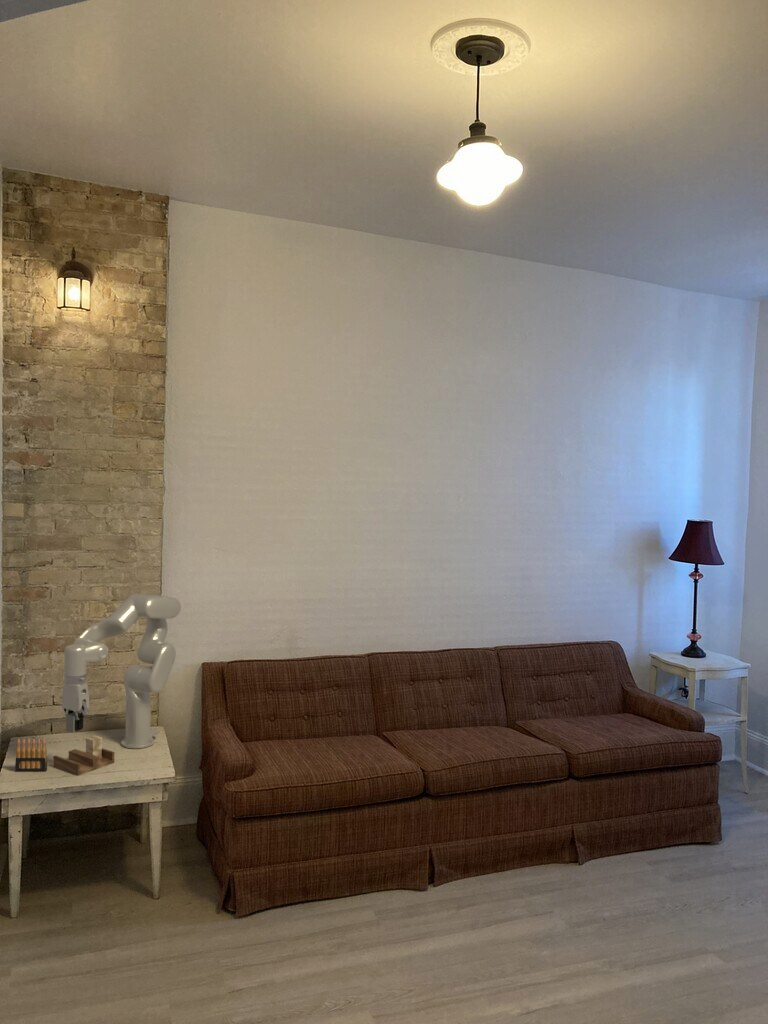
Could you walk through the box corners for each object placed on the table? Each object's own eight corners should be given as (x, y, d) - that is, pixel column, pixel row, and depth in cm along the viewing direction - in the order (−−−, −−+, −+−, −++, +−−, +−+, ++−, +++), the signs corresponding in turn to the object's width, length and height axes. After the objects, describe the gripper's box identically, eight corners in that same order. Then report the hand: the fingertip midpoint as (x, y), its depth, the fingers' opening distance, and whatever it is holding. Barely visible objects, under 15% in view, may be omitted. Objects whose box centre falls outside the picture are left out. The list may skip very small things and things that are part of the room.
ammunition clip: (14, 771, 295) (15, 739, 294) (16, 770, 296) (16, 737, 296) (45, 771, 296) (46, 739, 295) (47, 769, 298) (47, 737, 297)
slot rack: (89, 754, 314) (89, 744, 314) (114, 762, 307) (114, 752, 306) (53, 766, 300) (53, 756, 300) (78, 775, 293) (78, 764, 293)
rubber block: (75, 727, 302) (75, 711, 301) (82, 730, 300) (82, 713, 299) (66, 730, 298) (66, 714, 298) (73, 732, 296) (73, 716, 296)
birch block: (94, 756, 310) (94, 735, 309) (101, 758, 308) (101, 737, 307) (85, 759, 306) (86, 738, 306) (92, 761, 304) (93, 740, 304)
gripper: (99, 680, 297) (98, 730, 298) (69, 673, 306) (68, 721, 307) (81, 685, 290) (80, 735, 291) (51, 677, 299) (51, 726, 300)
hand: (74, 727), depth 299 cm, fingers closed on rubber block, 4 cm apart
